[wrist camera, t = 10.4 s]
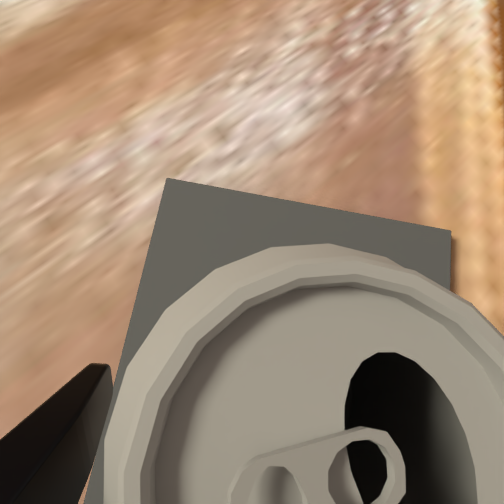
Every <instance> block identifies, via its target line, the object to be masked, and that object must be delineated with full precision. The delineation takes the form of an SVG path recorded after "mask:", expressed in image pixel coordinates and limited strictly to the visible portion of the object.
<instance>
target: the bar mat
mask: <svg viewBox="0 0 504 504" xmlns="http://www.w3.org/2000/svg"><path fill="white" fill-rule="evenodd" d="M328 243H329V244H334V245H338V246H342V247H346V248H350V249H354V250H358V251H363V252H367V253H371V254H375V255H379V256H383V257H387V258H388V259H390V260H392V261H394V262H395V263H397V264H399V265H400V266H402V267H404V268H407V269H411V270H415V271H417V272H418V273H420V274H422V275H424V276H425V277H427V278H429V279H431V280H432V281H434V282H436V283H437V284H439V285H441V286H443V287H444V288H446V289H448V290H449V291H450V268H451V231H450V230H445V229H440V228H434V227H429V226H423V225H418V224H413V223H407V222H402V221H397V220H391V219H386V218H380V217H375V216H370V215H364V214H359V213H354V212H348V211H343V210H337V209H332V208H327V207H321V206H316V205H310V204H305V203H300V202H294V201H289V200H284V199H278V198H273V197H267V196H262V195H257V194H251V193H246V192H240V191H235V190H230V189H224V188H219V187H214V186H208V185H203V184H197V183H192V182H187V181H181V180H176V179H171V178H167V179H166V183H165V187H164V190H163V194H162V198H161V202H160V206H159V210H158V214H157V218H156V222H155V226H154V230H153V233H152V237H151V241H150V245H149V249H148V253H147V257H146V261H145V265H144V269H143V273H142V277H141V280H140V284H139V288H138V292H137V296H136V300H135V304H134V308H133V312H132V316H131V320H130V324H129V327H128V331H127V335H126V339H125V343H124V347H123V351H122V355H121V359H120V363H119V367H118V371H117V374H116V378H115V382H114V386H113V396H112V400H111V403H110V407H109V410H108V414H107V417H106V421H105V424H104V428H103V431H102V435H101V438H100V442H99V445H98V449H97V453H96V457H95V461H94V465H93V468H92V472H91V476H90V480H89V484H88V488H87V492H86V496H85V500H84V504H103V503H104V439H105V436H106V433H107V430H108V426H109V423H110V420H111V417H112V413H113V410H114V407H115V404H116V401H117V397H118V394H119V391H120V388H121V384H122V381H123V378H124V375H125V372H126V368H127V366H128V365H129V363H130V362H131V360H132V359H133V357H134V356H135V354H136V353H137V351H138V350H139V348H140V347H141V345H142V344H143V342H144V341H145V339H146V338H147V336H148V335H149V333H150V332H151V330H152V329H153V327H154V326H155V324H156V323H157V321H158V320H159V318H160V317H161V315H162V314H163V312H164V311H165V310H166V309H167V308H168V307H169V306H171V305H172V304H173V303H174V302H175V301H177V300H178V299H179V298H180V297H182V296H183V295H184V294H185V293H186V292H188V291H189V290H190V289H191V288H193V287H194V286H195V285H196V284H198V283H199V282H200V281H201V280H202V279H204V278H205V277H206V276H207V275H209V274H210V273H211V272H212V271H214V270H215V269H217V268H220V267H222V266H225V265H227V264H230V263H232V262H235V261H237V260H240V259H242V258H245V257H247V256H250V255H253V254H255V253H258V252H260V251H263V250H265V249H268V248H270V247H282V246H297V245H313V244H328Z"/></svg>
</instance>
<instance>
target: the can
mask: <svg viewBox="0 0 504 504" xmlns="http://www.w3.org/2000/svg"><path fill="white" fill-rule="evenodd" d="M103 504H504V336H503V335H502V334H501V333H500V332H499V331H498V330H497V329H496V328H495V327H494V326H493V325H492V324H491V323H490V322H489V321H488V320H487V319H486V318H485V317H484V316H483V315H482V314H481V313H480V312H479V311H478V310H477V309H476V308H475V307H474V306H473V304H472V303H470V302H468V301H467V300H465V299H463V298H461V297H460V296H458V295H456V294H455V293H453V292H451V291H449V290H448V289H446V288H444V287H443V286H441V285H439V284H437V283H436V282H434V281H432V280H431V279H429V278H427V277H425V276H424V275H422V274H420V273H418V272H417V271H415V270H411V269H407V268H404V267H402V266H400V265H399V264H397V263H395V262H394V261H392V260H390V259H388V258H387V257H383V256H379V255H375V254H371V253H367V252H363V251H358V250H354V249H350V248H346V247H342V246H338V245H334V244H329V243H328V244H313V245H297V246H282V247H270V248H268V249H265V250H263V251H260V252H258V253H255V254H253V255H250V256H247V257H245V258H242V259H240V260H237V261H235V262H232V263H230V264H227V265H225V266H222V267H220V268H217V269H215V270H214V271H212V272H211V273H210V274H209V275H207V276H206V277H205V278H204V279H202V280H201V281H200V282H199V283H198V284H196V285H195V286H194V287H193V288H191V289H190V290H189V291H188V292H186V293H185V294H184V295H183V296H182V297H180V298H179V299H178V300H177V301H175V302H174V303H173V304H172V305H171V306H169V307H168V308H167V309H166V310H165V311H164V312H163V314H162V315H161V317H160V318H159V320H158V321H157V323H156V324H155V326H154V327H153V329H152V330H151V332H150V333H149V335H148V336H147V338H146V339H145V341H144V342H143V344H142V345H141V347H140V348H139V350H138V351H137V353H136V354H135V356H134V357H133V359H132V360H131V362H130V363H129V365H128V366H127V368H126V372H125V375H124V378H123V381H122V384H121V388H120V391H119V394H118V397H117V401H116V404H115V407H114V410H113V413H112V417H111V420H110V423H109V426H108V430H107V433H106V436H105V439H104V503H103Z"/></svg>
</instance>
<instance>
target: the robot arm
mask: <svg viewBox="0 0 504 504" xmlns="http://www.w3.org/2000/svg"><path fill="white" fill-rule="evenodd" d="M112 396H113V383H112V375H111V368H110V366H109V365H108V364H100V363H91V364H89V365H88V366H86V367H85V368H84V369H83V370H82V371H81V372H79V373H78V374H77V375H76V376H75V377H73V378H72V379H71V380H70V381H69V382H68V383H66V384H65V385H64V386H63V387H62V388H61V389H59V390H58V391H57V392H56V393H55V394H53V395H52V396H51V397H50V398H49V399H48V400H46V401H45V402H44V403H43V404H42V405H40V406H39V407H38V408H37V409H36V410H35V411H33V412H32V413H31V414H30V415H29V416H27V417H26V418H25V419H24V420H23V421H22V422H20V423H19V424H18V425H17V426H16V427H15V428H13V429H12V430H11V431H10V432H9V433H7V434H6V435H5V436H4V437H3V438H2V439H0V504H78V502H79V499H80V497H81V494H82V492H83V489H84V487H85V484H86V482H87V479H88V476H89V474H90V471H91V468H92V465H93V462H94V459H95V456H96V452H97V449H98V445H99V442H100V438H101V435H102V431H103V428H104V424H105V421H106V417H107V414H108V410H109V407H110V403H111V400H112Z"/></svg>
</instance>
